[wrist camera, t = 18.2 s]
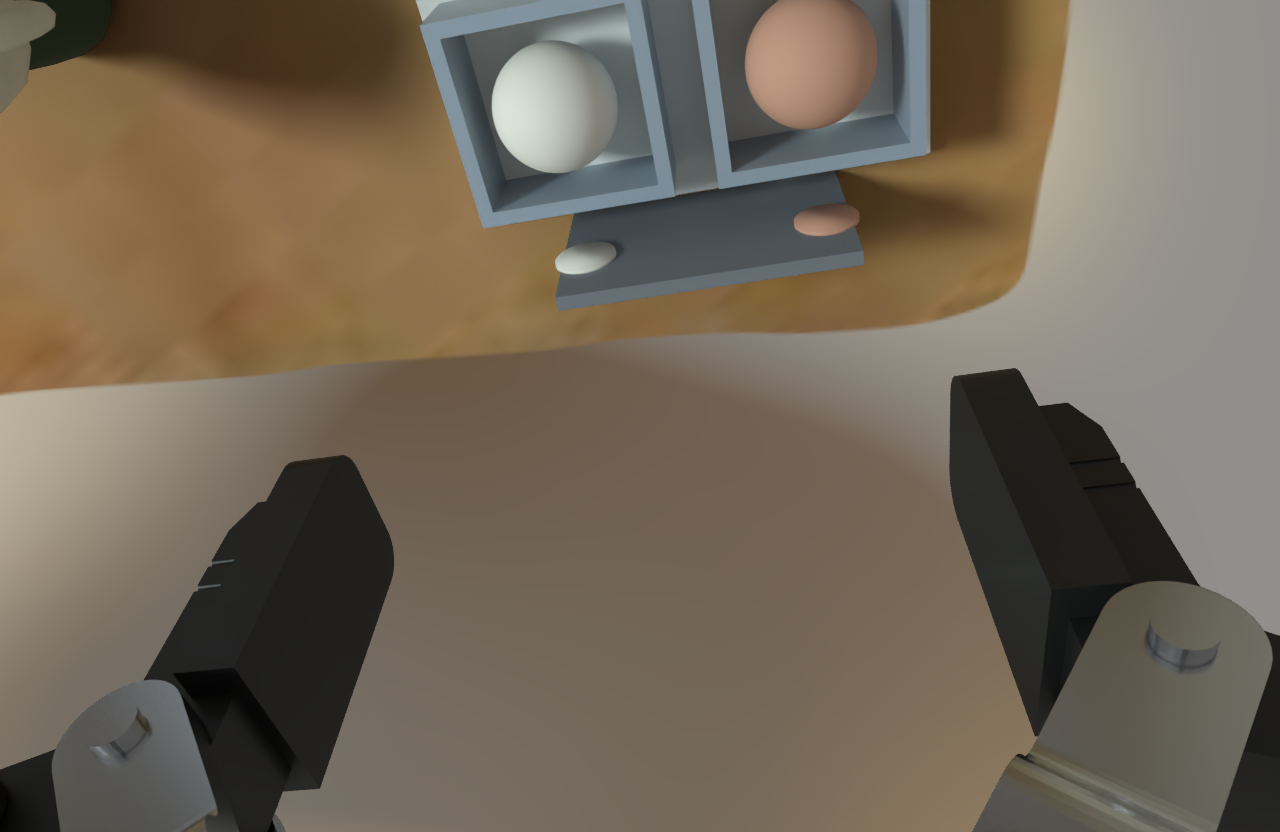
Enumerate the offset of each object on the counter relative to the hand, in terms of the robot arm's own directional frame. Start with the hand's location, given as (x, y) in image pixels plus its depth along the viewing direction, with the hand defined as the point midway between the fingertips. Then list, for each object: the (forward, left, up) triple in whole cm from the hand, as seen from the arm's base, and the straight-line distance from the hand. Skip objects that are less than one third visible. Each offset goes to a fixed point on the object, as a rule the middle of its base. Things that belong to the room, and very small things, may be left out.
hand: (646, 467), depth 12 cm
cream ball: (+3, -5, -27) cm, 27 cm away
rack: (+3, 0, -30) cm, 30 cm away
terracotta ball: (+3, +5, -27) cm, 27 cm away
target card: (+9, 0, -30) cm, 31 cm away
